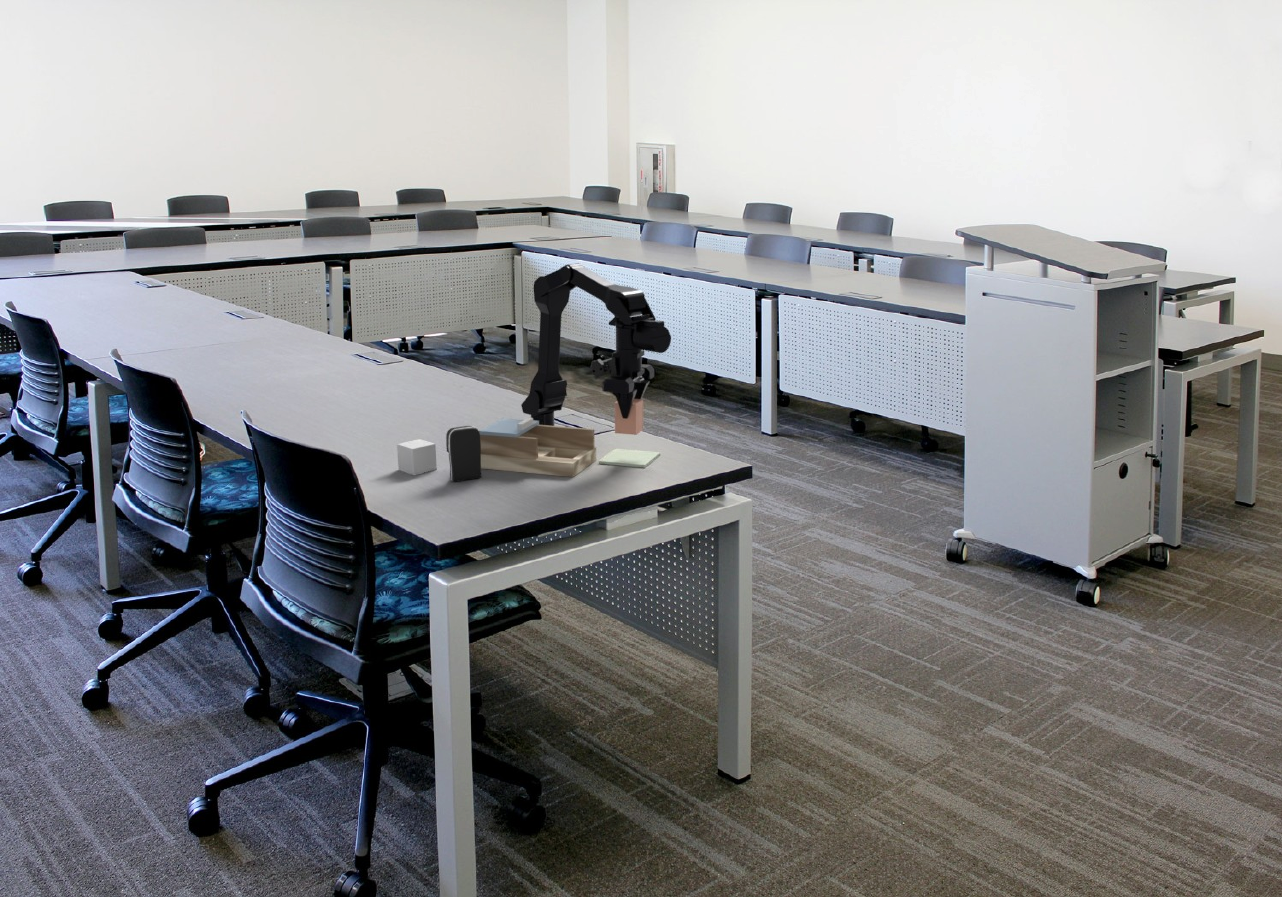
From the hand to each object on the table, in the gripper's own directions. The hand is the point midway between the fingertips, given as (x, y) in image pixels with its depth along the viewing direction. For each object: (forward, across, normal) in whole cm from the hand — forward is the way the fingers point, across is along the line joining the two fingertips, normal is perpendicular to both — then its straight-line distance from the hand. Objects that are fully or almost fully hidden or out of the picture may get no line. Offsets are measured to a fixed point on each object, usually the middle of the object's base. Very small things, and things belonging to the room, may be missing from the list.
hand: (629, 415), depth 264 cm
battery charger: (+10, +25, -29) cm, 40 cm away
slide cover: (+3, +10, -25) cm, 27 cm away
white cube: (+11, +22, -42) cm, 48 cm away
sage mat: (+10, 0, 0) cm, 10 cm away
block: (+4, 0, 0) cm, 4 cm away
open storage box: (+10, +10, -19) cm, 24 cm away
